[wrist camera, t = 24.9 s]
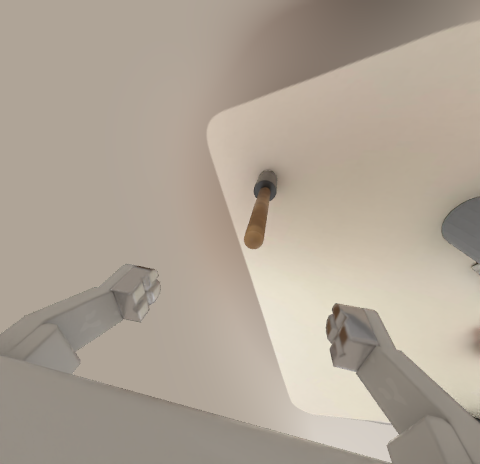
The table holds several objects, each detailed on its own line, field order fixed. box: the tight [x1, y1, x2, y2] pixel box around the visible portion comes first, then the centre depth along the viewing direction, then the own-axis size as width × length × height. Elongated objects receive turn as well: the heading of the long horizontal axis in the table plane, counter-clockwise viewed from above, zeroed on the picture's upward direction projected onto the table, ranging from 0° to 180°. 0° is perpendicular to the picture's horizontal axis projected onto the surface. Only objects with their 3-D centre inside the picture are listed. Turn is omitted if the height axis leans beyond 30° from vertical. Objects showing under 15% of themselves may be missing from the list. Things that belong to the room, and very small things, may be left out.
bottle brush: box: [244, 170, 277, 249], centre depth 21 cm, size 3×3×18 cm
